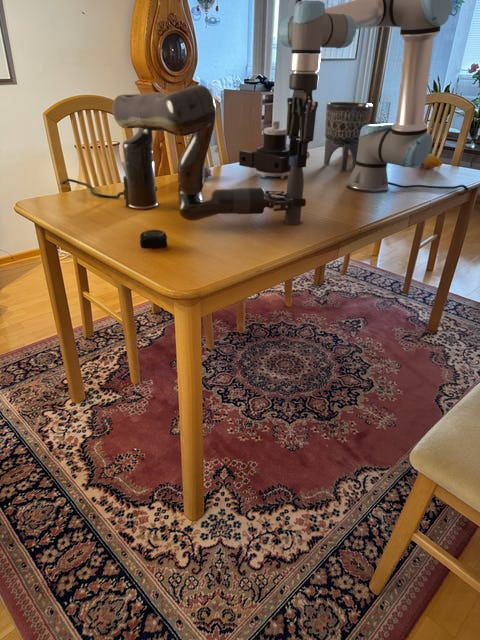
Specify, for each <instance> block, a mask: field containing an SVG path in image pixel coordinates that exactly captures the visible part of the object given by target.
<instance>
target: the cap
mask: <svg viewBox="0 0 480 640" xmlns="http://www.w3.org/2000/svg"><path fill="white" fill-rule="evenodd" d="M296 163H297V155H292V156H290V158H289V165H290V166H295V167H296Z"/></svg>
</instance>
